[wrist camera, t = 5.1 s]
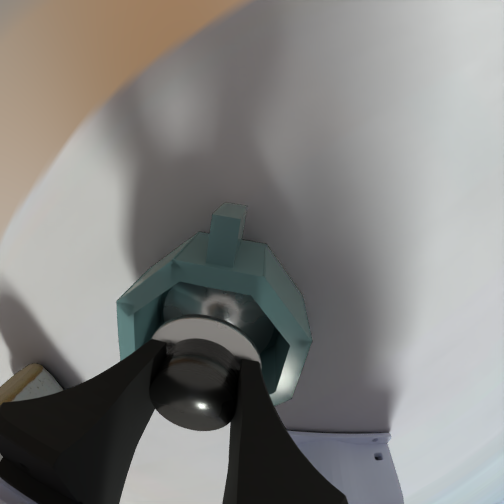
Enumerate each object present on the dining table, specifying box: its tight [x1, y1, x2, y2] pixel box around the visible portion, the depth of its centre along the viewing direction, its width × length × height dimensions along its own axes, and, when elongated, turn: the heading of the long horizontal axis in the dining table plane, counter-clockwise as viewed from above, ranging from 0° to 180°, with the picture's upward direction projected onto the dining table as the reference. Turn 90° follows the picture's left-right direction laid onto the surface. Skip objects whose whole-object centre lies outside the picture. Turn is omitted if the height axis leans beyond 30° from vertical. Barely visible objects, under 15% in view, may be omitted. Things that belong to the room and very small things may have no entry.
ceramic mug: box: [0, 363, 63, 405], centre depth 16 cm, size 11×8×8 cm
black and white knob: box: [150, 282, 274, 431], centre depth 12 cm, size 6×6×6 cm
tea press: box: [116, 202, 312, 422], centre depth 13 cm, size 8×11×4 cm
